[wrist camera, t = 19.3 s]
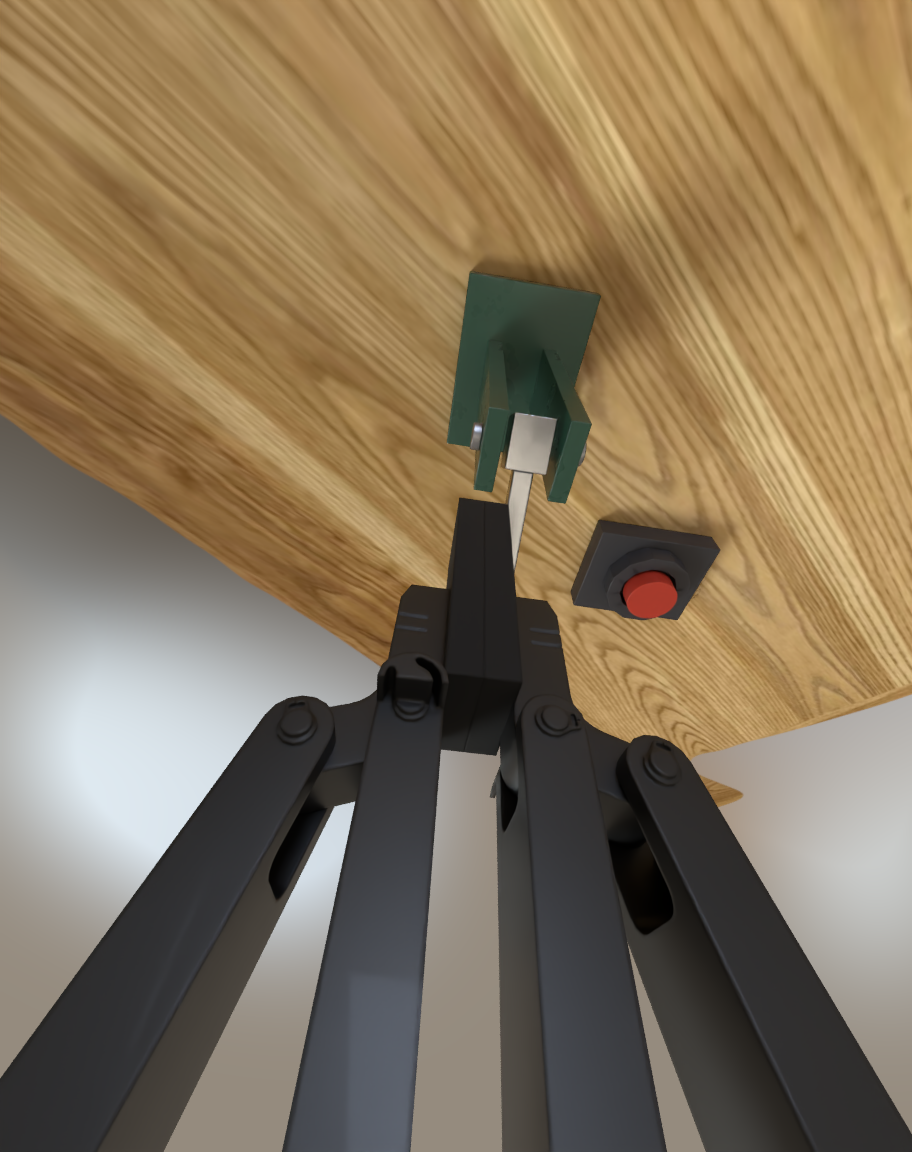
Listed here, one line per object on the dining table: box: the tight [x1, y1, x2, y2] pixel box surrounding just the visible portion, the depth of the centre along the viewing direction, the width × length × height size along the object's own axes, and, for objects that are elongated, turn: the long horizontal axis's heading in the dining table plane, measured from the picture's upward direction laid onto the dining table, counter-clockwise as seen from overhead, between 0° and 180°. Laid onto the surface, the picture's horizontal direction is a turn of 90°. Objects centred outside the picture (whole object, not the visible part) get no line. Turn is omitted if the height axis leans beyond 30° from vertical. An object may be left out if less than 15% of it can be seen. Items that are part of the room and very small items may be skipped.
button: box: [623, 571, 677, 618], centre depth 43 cm, size 4×4×2 cm
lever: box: [501, 412, 557, 573], centre depth 26 cm, size 17×4×4 cm, turn 173°
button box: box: [571, 520, 720, 620], centre depth 45 cm, size 11×9×4 cm
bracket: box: [447, 271, 601, 504], centre depth 29 cm, size 12×9×16 cm
